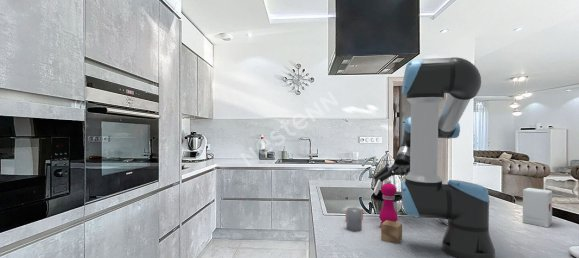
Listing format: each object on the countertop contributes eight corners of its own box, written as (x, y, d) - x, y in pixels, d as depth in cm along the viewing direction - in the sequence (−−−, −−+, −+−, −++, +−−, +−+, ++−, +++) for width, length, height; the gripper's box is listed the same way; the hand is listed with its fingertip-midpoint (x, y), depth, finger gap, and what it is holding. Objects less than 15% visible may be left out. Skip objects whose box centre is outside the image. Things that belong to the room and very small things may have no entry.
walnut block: (402, 239, 109) (402, 223, 109) (398, 244, 104) (398, 227, 104) (385, 235, 112) (385, 220, 112) (381, 240, 107) (381, 224, 107)
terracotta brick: (362, 220, 132) (363, 209, 132) (353, 223, 126) (353, 212, 126) (355, 218, 135) (355, 207, 135) (345, 221, 129) (345, 210, 129)
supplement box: (548, 228, 124) (548, 192, 124) (522, 222, 131) (522, 189, 131) (552, 224, 130) (552, 190, 130) (527, 219, 137) (527, 187, 137)
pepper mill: (377, 228, 120) (378, 180, 120) (380, 223, 126) (381, 177, 126) (396, 231, 116) (396, 181, 117) (398, 226, 123) (399, 179, 123)
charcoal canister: (364, 229, 119) (364, 209, 119) (356, 232, 115) (356, 212, 115) (351, 225, 123) (351, 206, 123) (343, 229, 119) (343, 209, 119)
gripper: (435, 166, 128) (422, 206, 117) (382, 161, 145) (366, 196, 134) (431, 154, 124) (417, 195, 113) (377, 151, 141) (360, 186, 130)
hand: (389, 195), depth 123 cm, fingers open, 13 cm apart
